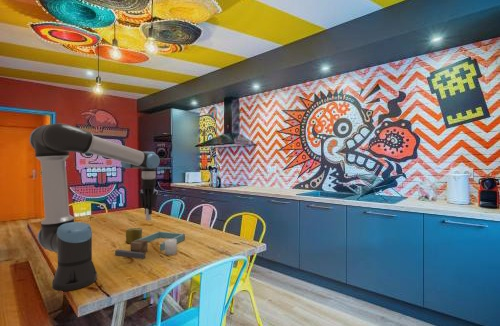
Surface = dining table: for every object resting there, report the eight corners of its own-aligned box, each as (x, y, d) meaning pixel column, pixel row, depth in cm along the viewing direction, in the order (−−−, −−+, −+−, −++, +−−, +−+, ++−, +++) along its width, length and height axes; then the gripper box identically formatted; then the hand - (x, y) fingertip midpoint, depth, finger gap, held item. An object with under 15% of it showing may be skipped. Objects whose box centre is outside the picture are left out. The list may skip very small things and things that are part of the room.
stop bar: (142, 259, 135) (142, 254, 135) (115, 255, 141) (115, 250, 141) (145, 257, 136) (145, 253, 136) (118, 253, 143) (118, 249, 143)
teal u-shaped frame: (161, 250, 147) (161, 244, 147) (134, 247, 154) (134, 240, 154) (184, 239, 168) (184, 233, 168) (159, 236, 175) (159, 231, 175)
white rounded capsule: (172, 255, 139) (171, 242, 139) (162, 254, 141) (162, 241, 141) (178, 252, 145) (178, 239, 145) (169, 250, 147) (169, 238, 147)
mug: (137, 241, 158) (134, 225, 160) (122, 246, 160) (120, 229, 162) (150, 240, 169) (147, 224, 172) (136, 244, 171) (134, 228, 174)
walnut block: (139, 255, 141) (139, 243, 141) (130, 253, 143) (130, 242, 143) (147, 251, 146) (147, 240, 146) (138, 250, 149) (138, 239, 149)
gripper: (162, 178, 155) (162, 219, 155) (144, 178, 160) (143, 218, 159) (153, 179, 148) (153, 222, 148) (134, 178, 153) (134, 220, 152)
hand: (148, 219), depth 154 cm, fingers closed
